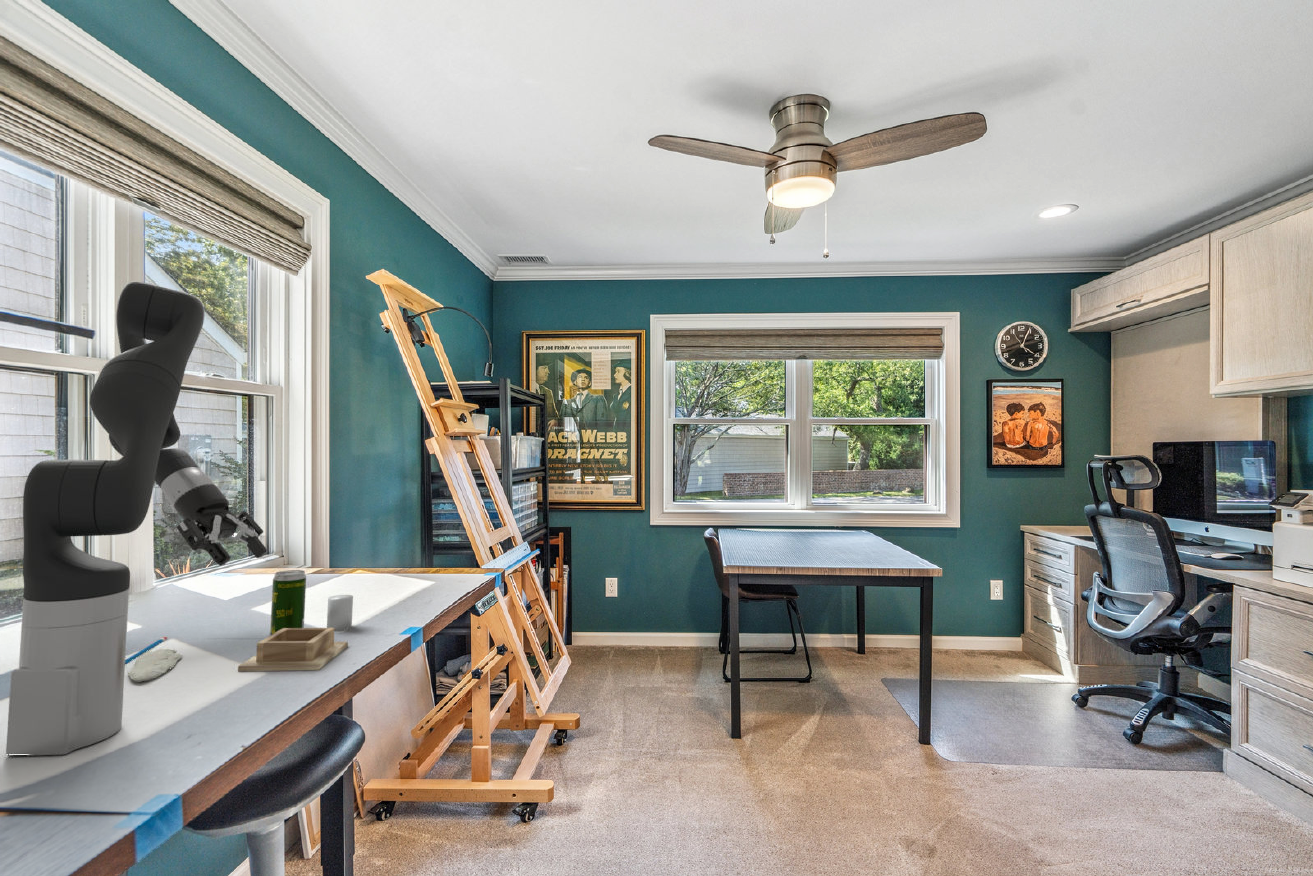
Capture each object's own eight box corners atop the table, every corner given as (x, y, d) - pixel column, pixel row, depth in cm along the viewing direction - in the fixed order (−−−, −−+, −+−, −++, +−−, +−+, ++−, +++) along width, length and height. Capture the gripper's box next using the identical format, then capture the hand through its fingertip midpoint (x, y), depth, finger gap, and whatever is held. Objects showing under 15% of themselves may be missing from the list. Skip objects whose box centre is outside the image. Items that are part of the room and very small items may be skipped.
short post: (346, 630, 117) (348, 599, 117) (322, 631, 116) (324, 599, 116) (355, 624, 121) (356, 594, 121) (332, 624, 121) (333, 594, 121)
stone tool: (141, 661, 99) (116, 688, 87) (143, 648, 100) (118, 673, 87) (184, 658, 102) (167, 683, 89) (186, 645, 103) (168, 668, 90)
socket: (318, 670, 96) (319, 646, 96) (237, 671, 94) (239, 646, 94) (347, 646, 108) (348, 624, 108) (276, 647, 106) (277, 625, 106)
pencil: (167, 640, 109) (167, 636, 109) (114, 673, 93) (114, 669, 93) (162, 640, 109) (162, 637, 109) (107, 674, 92) (107, 669, 92)
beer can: (301, 631, 116) (304, 568, 116) (305, 638, 111) (308, 573, 112) (268, 635, 112) (271, 571, 113) (271, 643, 108) (274, 576, 109)
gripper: (173, 484, 108) (226, 550, 106) (238, 481, 122) (286, 540, 120) (146, 512, 109) (198, 579, 107) (213, 506, 123) (261, 565, 121)
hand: (245, 558), depth 114 cm, fingers open, 8 cm apart
